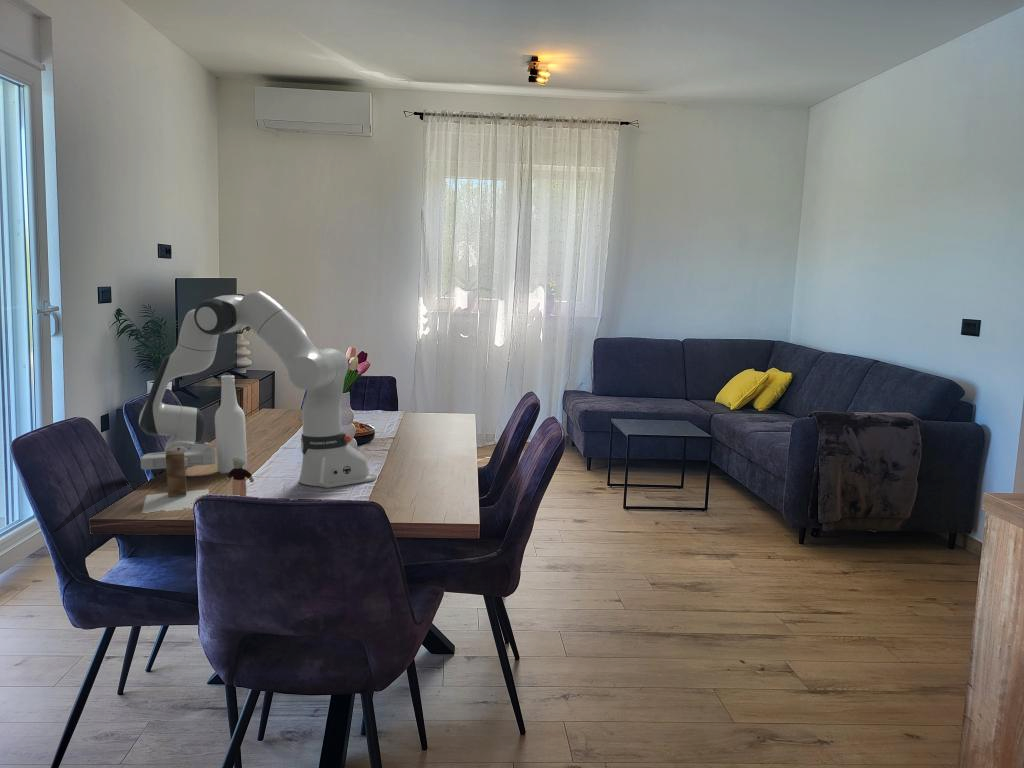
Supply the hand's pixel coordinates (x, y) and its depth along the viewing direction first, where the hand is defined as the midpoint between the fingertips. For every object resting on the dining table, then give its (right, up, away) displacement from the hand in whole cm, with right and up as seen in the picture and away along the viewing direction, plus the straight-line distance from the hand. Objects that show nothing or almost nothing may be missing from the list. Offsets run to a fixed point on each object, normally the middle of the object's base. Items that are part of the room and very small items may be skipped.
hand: (177, 465), depth 222 cm
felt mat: (+6, -9, -14) cm, 18 cm away
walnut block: (+4, -7, -9) cm, 12 cm away
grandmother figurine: (+23, -9, -13) cm, 27 cm away
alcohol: (+9, -4, +19) cm, 21 cm away
